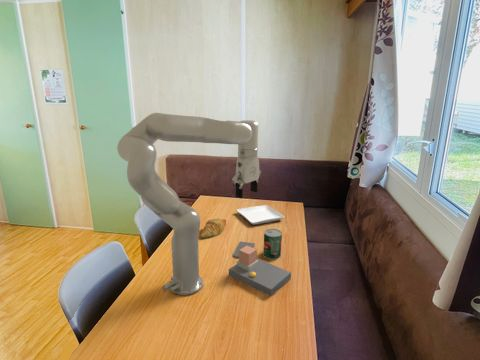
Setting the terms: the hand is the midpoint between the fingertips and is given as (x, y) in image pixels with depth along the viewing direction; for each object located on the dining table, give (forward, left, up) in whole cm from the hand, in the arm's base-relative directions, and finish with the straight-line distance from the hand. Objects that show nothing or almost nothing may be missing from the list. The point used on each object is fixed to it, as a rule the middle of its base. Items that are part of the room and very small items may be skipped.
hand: (246, 194), depth 126 cm
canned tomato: (+12, -6, -31) cm, 33 cm away
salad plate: (+43, +23, -31) cm, 58 cm away
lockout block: (-6, -6, -25) cm, 27 cm away
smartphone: (+7, +6, -31) cm, 32 cm away
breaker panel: (-6, -12, -30) cm, 33 cm away
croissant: (+12, +31, -31) cm, 45 cm away
